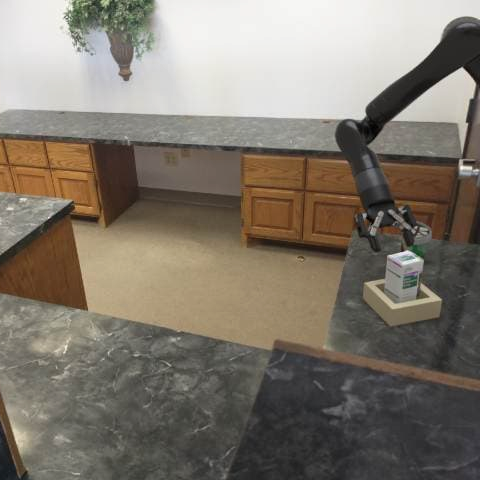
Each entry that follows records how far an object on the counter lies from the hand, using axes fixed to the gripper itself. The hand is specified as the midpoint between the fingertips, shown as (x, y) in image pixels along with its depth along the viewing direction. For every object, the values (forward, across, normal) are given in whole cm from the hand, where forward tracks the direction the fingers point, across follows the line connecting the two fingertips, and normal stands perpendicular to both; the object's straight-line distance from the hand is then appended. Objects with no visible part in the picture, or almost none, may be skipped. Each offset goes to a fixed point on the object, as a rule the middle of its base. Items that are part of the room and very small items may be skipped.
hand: (394, 248), depth 125 cm
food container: (-1, +17, +21) cm, 27 cm away
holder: (+13, 0, +7) cm, 15 cm away
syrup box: (+14, 0, +7) cm, 15 cm away
